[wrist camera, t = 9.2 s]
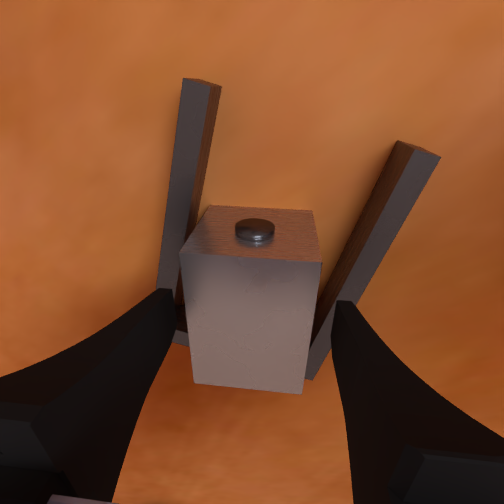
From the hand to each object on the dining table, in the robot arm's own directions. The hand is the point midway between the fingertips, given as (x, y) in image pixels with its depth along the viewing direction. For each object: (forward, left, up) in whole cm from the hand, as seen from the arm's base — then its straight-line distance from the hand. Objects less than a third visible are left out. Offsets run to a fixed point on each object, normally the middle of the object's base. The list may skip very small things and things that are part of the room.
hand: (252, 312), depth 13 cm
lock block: (0, 0, -4) cm, 4 cm away
